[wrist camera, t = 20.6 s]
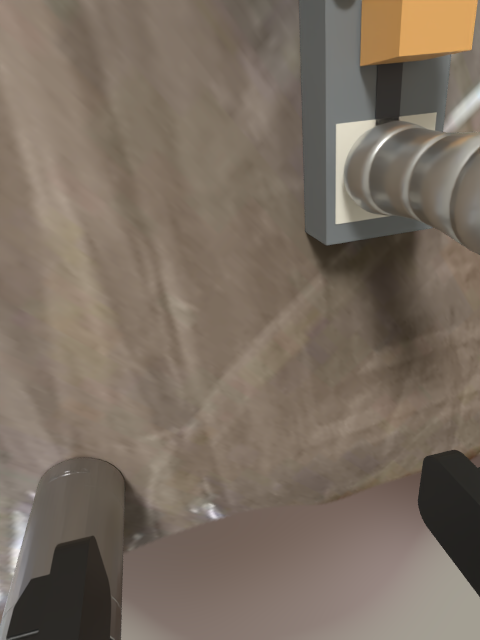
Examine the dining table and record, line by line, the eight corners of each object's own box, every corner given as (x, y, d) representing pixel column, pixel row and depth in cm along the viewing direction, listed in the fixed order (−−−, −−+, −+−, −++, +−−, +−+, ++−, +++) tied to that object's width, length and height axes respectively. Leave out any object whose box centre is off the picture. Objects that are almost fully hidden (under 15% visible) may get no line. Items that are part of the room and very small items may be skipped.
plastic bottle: (423, 166, 34) (727, 212, 17) (361, 225, 35) (586, 327, 18) (384, 100, 32) (700, 72, 14) (317, 166, 33) (533, 218, 15)
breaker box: (400, 216, 42) (438, 229, 36) (305, 231, 40) (330, 247, 35) (419, -40, 33) (472, -70, 28) (298, -34, 31) (330, -64, 26)
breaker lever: (423, 60, 31) (471, 49, 26) (360, 66, 30) (398, 56, 26) (428, -8, 29) (481, -31, 25) (361, -3, 28) (403, -26, 24)
